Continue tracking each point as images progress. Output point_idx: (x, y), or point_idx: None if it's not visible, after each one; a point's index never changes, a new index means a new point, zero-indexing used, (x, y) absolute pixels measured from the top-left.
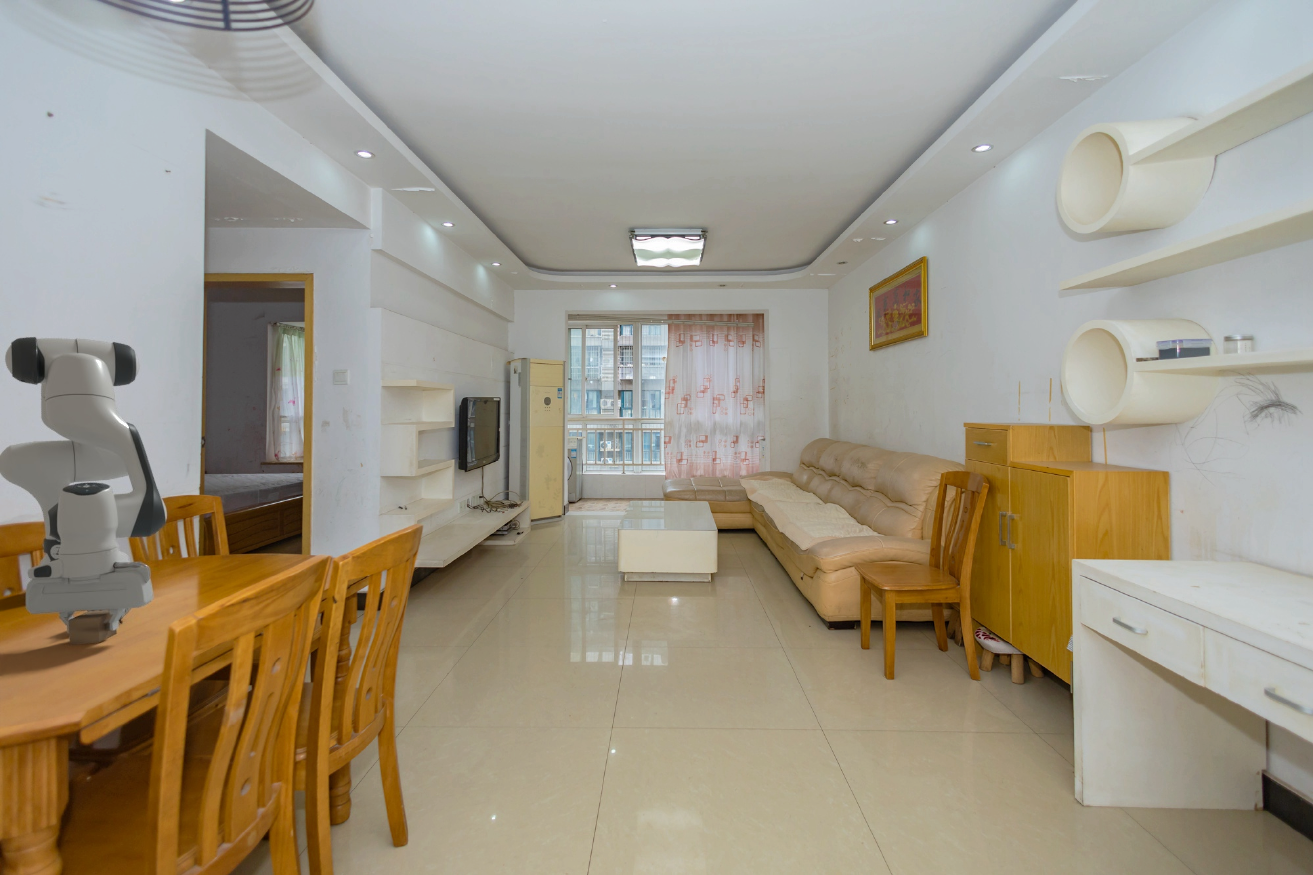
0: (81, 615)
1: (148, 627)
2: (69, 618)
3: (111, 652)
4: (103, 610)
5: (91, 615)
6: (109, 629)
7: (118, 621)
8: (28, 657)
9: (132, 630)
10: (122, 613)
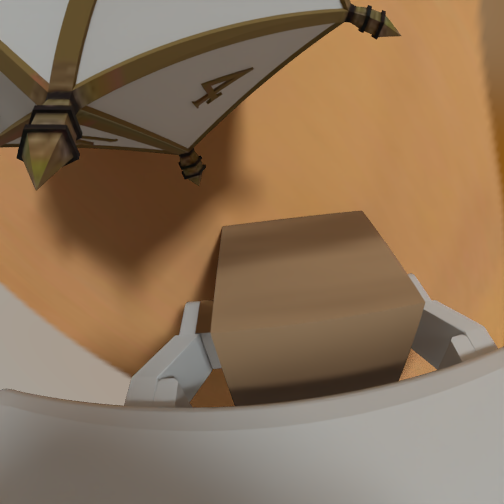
0: (251, 391)
1: (462, 140)
2: (184, 385)
3: (428, 366)
4: (194, 131)
5: (323, 390)
6: None
7: (426, 293)
8: (205, 395)
9: (414, 173)
10: (466, 322)
